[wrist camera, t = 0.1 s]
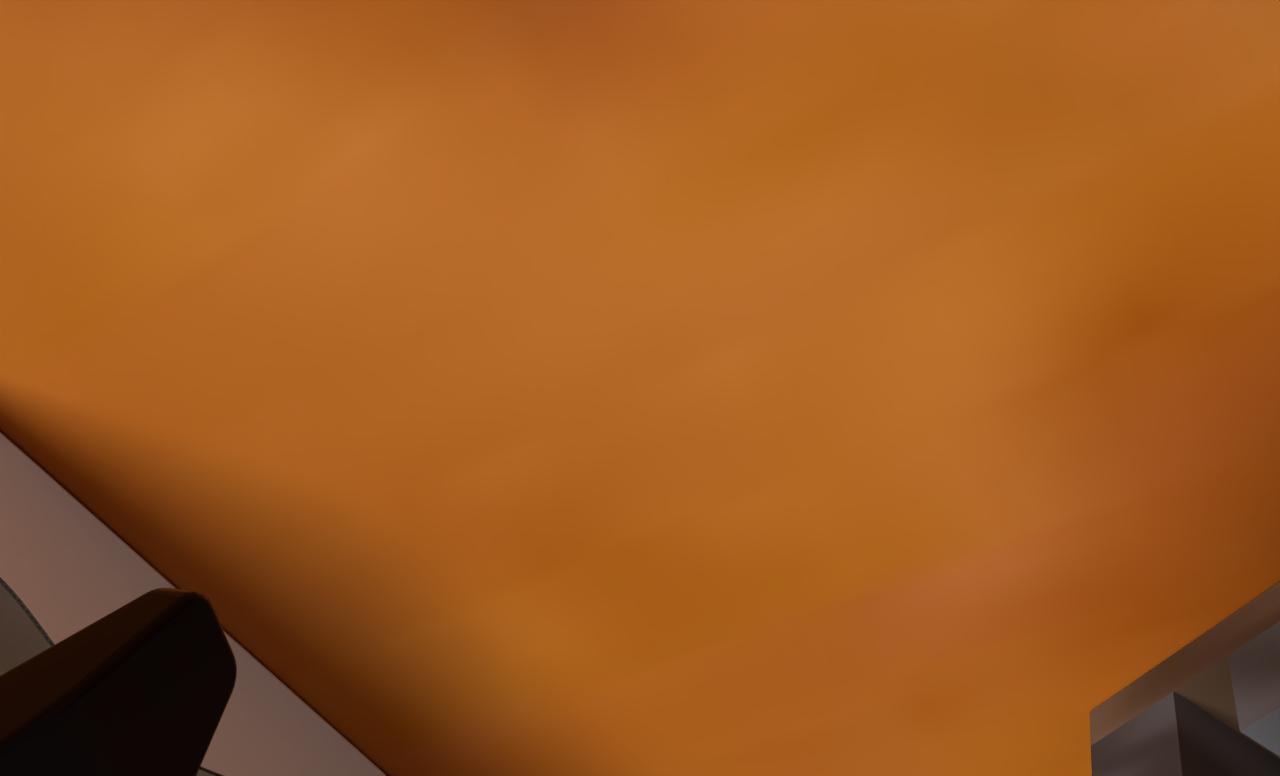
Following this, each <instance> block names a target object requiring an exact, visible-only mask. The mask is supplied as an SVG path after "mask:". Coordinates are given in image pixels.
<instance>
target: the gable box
mask: <svg viewBox="0 0 1280 776" xmlns="http://www.w3.org/2000/svg"><path fill="white" fill-rule="evenodd" d="M157 588H174V589H177V588H176V587H175V586H174V585H172V584H171V583H170V582H169V581H168V580H167V579H166V578H165V577H163V576H162V575H161V574H160V573H159V572H158V571H157V570H156V569H154V568H153V567H152V566H151V565H150V564H149V563H148V562H147V561H145V560H144V559H143V558H142V557H141V556H140V555H139V554H138V553H136V552H135V551H134V550H133V549H132V548H131V547H130V546H129V545H127V544H126V543H125V542H124V541H123V540H122V539H121V538H120V537H118V536H117V535H116V534H115V533H114V532H113V531H112V530H111V529H109V528H108V527H107V526H106V525H105V524H104V523H103V522H102V521H100V520H99V519H98V518H97V517H96V516H95V515H94V514H93V513H91V512H90V511H89V510H88V509H87V508H86V507H85V506H84V505H82V504H81V503H80V502H79V501H78V500H77V499H76V498H75V497H73V496H72V495H71V494H70V493H69V492H68V491H67V490H66V489H64V488H63V487H62V486H61V485H60V484H59V483H58V482H57V481H56V480H54V479H53V478H52V477H51V476H50V475H49V474H48V473H47V472H45V471H44V470H43V469H42V468H41V467H40V466H39V465H38V464H36V463H35V462H34V461H33V460H32V459H31V458H30V457H29V456H27V455H26V454H25V453H24V452H23V451H22V450H21V449H20V448H18V447H17V446H16V445H15V444H14V443H13V442H12V441H11V440H9V439H8V438H7V437H6V436H5V435H4V434H3V433H2V432H0V675H2V674H4V673H6V672H7V671H9V670H11V669H13V668H14V667H16V666H18V665H20V664H22V663H23V662H25V661H27V660H29V659H30V658H32V657H34V656H36V655H37V654H39V653H41V652H43V651H45V650H46V649H48V648H50V647H52V646H53V645H55V644H57V643H59V642H60V641H62V640H64V639H66V638H67V637H69V636H71V635H73V634H75V633H76V632H78V631H80V630H82V629H83V628H85V627H87V626H89V625H90V624H92V623H94V622H96V621H98V620H99V619H101V618H103V617H105V616H106V615H108V614H110V613H112V612H113V611H115V610H117V609H119V608H120V607H122V606H124V605H126V604H128V603H129V602H131V601H133V600H135V599H136V598H138V597H140V596H142V595H143V594H145V593H147V592H149V591H151V590H154V589H157ZM223 631H224V630H223ZM224 633H225V635H226V638H227V640H228V642H229V644H230V647H231V649H232V651H233V654H234V656H235V659H236V665H237V676H236V681H235V686H234V689H233V692H232V694H231V696H230V699H229V701H228V703H227V706H226V708H225V710H224V713H223V715H222V717H221V720H220V722H219V724H218V727H217V729H216V731H215V734H214V736H213V738H212V741H211V743H210V745H209V747H208V750H207V752H206V754H205V757H204V759H203V761H202V764H201V766H200V768H199V771H198V773H197V775H196V776H387V775H386V774H385V773H384V772H383V771H382V770H380V769H379V768H378V767H377V766H376V765H375V764H374V763H373V762H371V761H370V760H369V759H368V758H367V757H366V756H365V755H364V754H362V753H361V752H360V751H359V750H358V749H357V748H356V747H355V746H353V745H352V744H351V743H350V742H349V741H348V740H347V739H346V738H344V737H343V736H342V735H341V734H340V733H339V732H338V731H337V730H335V729H334V728H333V727H332V726H331V725H330V724H329V723H328V722H326V721H325V720H324V719H323V718H322V717H321V716H320V715H319V714H317V713H316V712H315V711H314V710H313V709H312V708H311V707H310V706H308V705H307V704H306V703H305V702H304V701H303V700H302V699H301V698H299V697H298V696H297V695H296V694H295V693H294V692H293V691H292V690H291V689H289V688H288V687H287V686H286V685H285V684H284V683H283V682H282V681H280V680H279V679H278V678H277V677H276V676H275V675H274V674H273V673H271V672H270V671H269V670H268V669H267V668H266V667H265V666H264V665H262V664H261V663H260V662H259V661H258V660H257V659H256V658H255V657H253V656H252V655H251V654H250V653H249V652H248V651H247V650H246V649H244V648H243V647H242V646H241V645H240V644H239V643H238V642H237V641H235V640H234V639H233V638H232V637H231V636H230V635H229V634H228V633H226V632H225V631H224Z"/></svg>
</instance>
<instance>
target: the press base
mask: <svg viewBox="0 0 1280 776" xmlns="http://www.w3.org/2000/svg"><path fill="white" fill-rule="evenodd" d="M1090 732H1091V761H1092V776H1280V582H1278V583H1277V584H1275V585H1274V586H1273V587H1271V588H1270V589H1268V590H1267V591H1265V592H1264V593H1262V594H1261V595H1259V596H1258V597H1257V598H1255V599H1254V600H1252V601H1251V602H1249V603H1248V604H1246V605H1245V606H1243V607H1242V608H1241V609H1239V610H1238V611H1236V612H1235V613H1233V614H1232V615H1230V616H1229V617H1227V618H1226V619H1224V620H1223V621H1222V622H1220V623H1219V624H1217V625H1216V626H1214V627H1213V628H1211V629H1210V630H1208V631H1207V632H1206V633H1204V634H1203V635H1201V636H1200V637H1198V638H1197V639H1195V640H1194V641H1192V642H1191V643H1190V644H1188V645H1187V646H1185V647H1184V648H1182V649H1181V650H1179V651H1178V652H1176V653H1175V654H1174V655H1172V656H1171V657H1169V658H1168V659H1166V660H1165V661H1163V662H1162V663H1160V664H1159V665H1158V666H1156V667H1155V668H1153V669H1152V670H1150V671H1149V672H1147V673H1146V674H1144V675H1143V676H1142V677H1140V678H1139V679H1137V680H1136V681H1134V682H1133V683H1131V684H1130V685H1128V686H1127V687H1125V688H1124V689H1123V690H1121V691H1120V692H1118V693H1117V694H1115V695H1114V696H1112V697H1111V698H1109V699H1108V700H1107V701H1105V702H1104V703H1102V704H1101V705H1099V706H1098V707H1096V708H1095V709H1093V710H1092V711H1091V712H1090Z"/></svg>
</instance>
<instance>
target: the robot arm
mask: <svg viewBox="0 0 1280 776" xmlns="http://www.w3.org/2000/svg"><path fill="white" fill-rule="evenodd" d="M236 676H237V665H236V659H235V656H234V654H233V651H232V649H231V647H230V644H229V642H228V640H227V638H226V635H225V633H224V631H223V629H222V626H221V624H220V622H219V619H218V617H217V615H216V613H215V610H214V608H213V606H212V604H211V602H210V600H209V599H208V598H207V597H206V596H205V595H204V594H202V593H200V592H197V591H192V590H183V589H174V588H157V589H154V590H151V591H149V592H147V593H145V594H143V595H142V596H140V597H138V598H136V599H135V600H133V601H131V602H129V603H128V604H126V605H124V606H122V607H120V608H119V609H117V610H115V611H113V612H112V613H110V614H108V615H106V616H105V617H103V618H101V619H99V620H98V621H96V622H94V623H92V624H90V625H89V626H87V627H85V628H83V629H82V630H80V631H78V632H76V633H75V634H73V635H71V636H69V637H67V638H66V639H64V640H62V641H60V642H59V643H57V644H55V645H53V646H52V647H50V648H48V649H46V650H45V651H43V652H41V653H39V654H37V655H36V656H34V657H32V658H30V659H29V660H27V661H25V662H23V663H22V664H20V665H18V666H16V667H14V668H13V669H11V670H9V671H7V672H6V673H4V674H2V675H0V776H196V775H197V773H198V771H199V768H200V766H201V764H202V761H203V759H204V757H205V754H206V752H207V750H208V747H209V745H210V743H211V741H212V738H213V736H214V734H215V731H216V729H217V727H218V724H219V722H220V720H221V717H222V715H223V713H224V710H225V708H226V706H227V703H228V701H229V699H230V696H231V694H232V692H233V689H234V686H235V681H236Z"/></svg>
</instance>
